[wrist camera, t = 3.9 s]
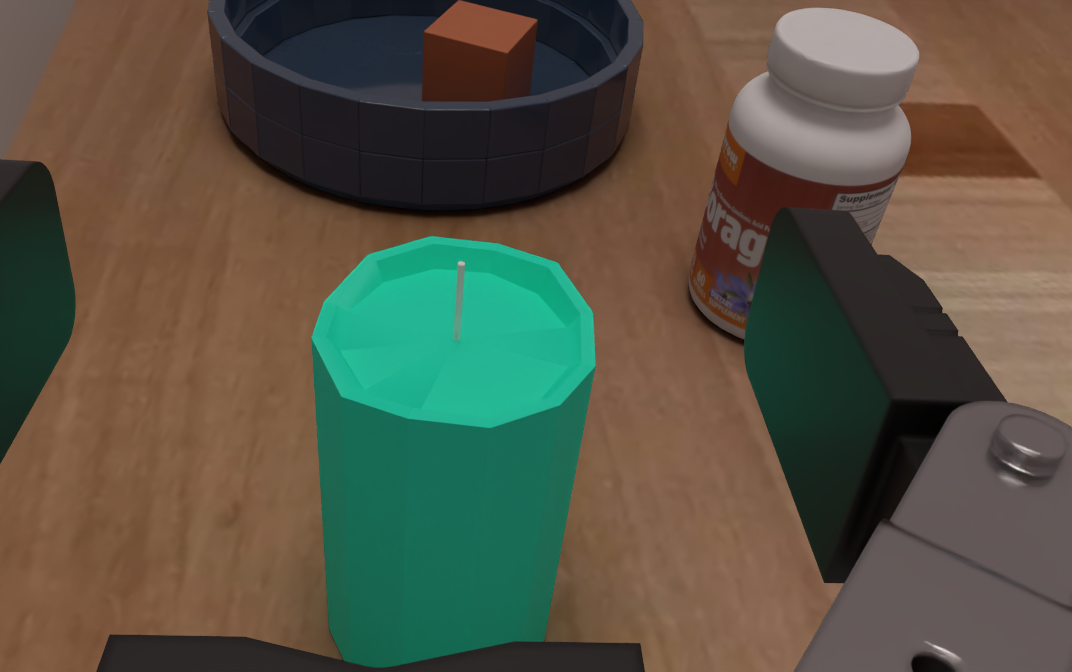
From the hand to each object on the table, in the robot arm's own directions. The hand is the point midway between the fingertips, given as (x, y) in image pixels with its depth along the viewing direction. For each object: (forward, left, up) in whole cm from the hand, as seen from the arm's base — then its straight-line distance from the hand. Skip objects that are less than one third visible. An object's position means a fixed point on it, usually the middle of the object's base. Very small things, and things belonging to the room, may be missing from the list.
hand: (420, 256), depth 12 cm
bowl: (-14, +33, -17) cm, 39 cm away
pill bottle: (+4, +25, -17) cm, 30 cm away
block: (-11, +33, -17) cm, 38 cm away
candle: (-2, +7, -17) cm, 19 cm away
